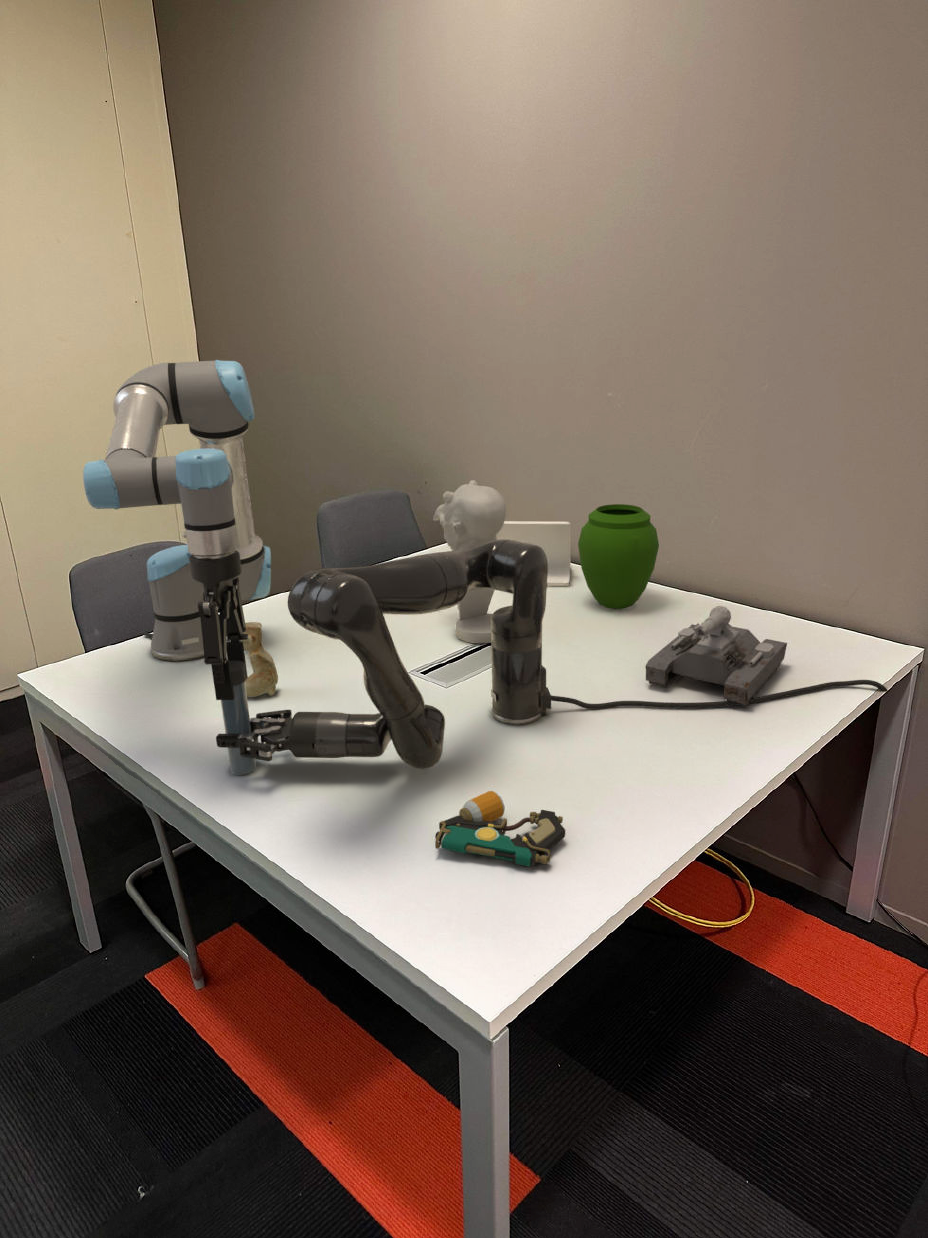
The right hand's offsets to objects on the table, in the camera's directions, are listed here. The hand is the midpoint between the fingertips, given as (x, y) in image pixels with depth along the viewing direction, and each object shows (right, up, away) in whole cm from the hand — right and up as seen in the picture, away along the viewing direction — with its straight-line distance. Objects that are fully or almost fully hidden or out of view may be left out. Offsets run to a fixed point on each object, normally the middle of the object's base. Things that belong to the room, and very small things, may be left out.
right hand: (222, 733), depth 142 cm
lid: (+2, +11, -4) cm, 12 cm away
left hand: (+3, +8, -3) cm, 9 cm away
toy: (+91, +7, +31) cm, 97 cm away
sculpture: (-1, +4, +29) cm, 30 cm away
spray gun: (+46, -13, -19) cm, 51 cm away
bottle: (+3, -6, +2) cm, 7 cm away
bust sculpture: (+42, +16, +59) cm, 74 cm away
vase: (+78, +22, +72) cm, 109 cm away
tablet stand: (+57, +31, +97) cm, 117 cm away
